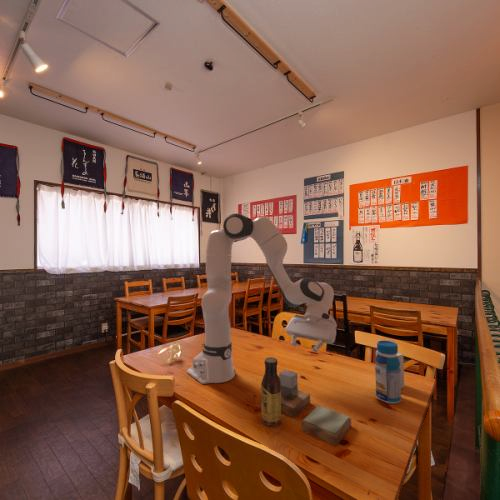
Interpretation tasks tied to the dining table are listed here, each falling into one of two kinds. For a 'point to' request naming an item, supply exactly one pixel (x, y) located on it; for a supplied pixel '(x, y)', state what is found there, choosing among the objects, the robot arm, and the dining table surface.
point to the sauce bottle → (271, 394)
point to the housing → (288, 384)
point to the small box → (400, 357)
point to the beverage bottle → (388, 372)
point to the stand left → (295, 404)
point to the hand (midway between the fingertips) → (303, 348)
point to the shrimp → (175, 347)
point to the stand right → (326, 424)
